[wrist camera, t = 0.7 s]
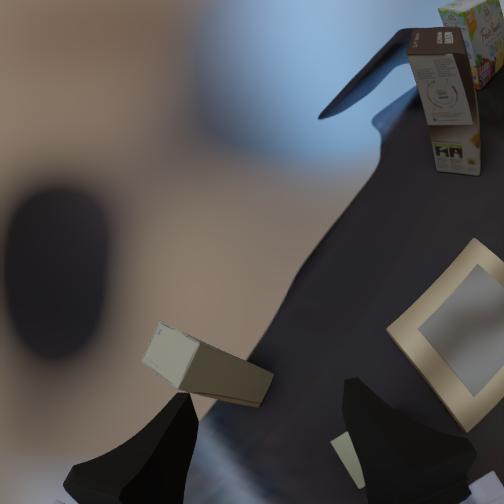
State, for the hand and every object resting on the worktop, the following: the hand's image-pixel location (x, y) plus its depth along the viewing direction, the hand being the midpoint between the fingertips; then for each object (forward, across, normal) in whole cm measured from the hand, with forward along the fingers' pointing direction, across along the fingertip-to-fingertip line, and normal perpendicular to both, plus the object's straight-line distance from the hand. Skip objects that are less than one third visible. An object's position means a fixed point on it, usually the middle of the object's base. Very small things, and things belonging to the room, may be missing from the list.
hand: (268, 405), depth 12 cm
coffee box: (+21, -28, -13) cm, 37 cm away
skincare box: (+16, +3, +11) cm, 20 cm away
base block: (+7, -18, +4) cm, 20 cm away
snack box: (+28, -47, -32) cm, 64 cm away
